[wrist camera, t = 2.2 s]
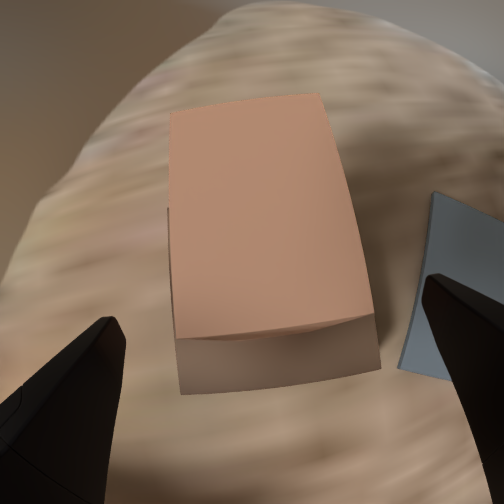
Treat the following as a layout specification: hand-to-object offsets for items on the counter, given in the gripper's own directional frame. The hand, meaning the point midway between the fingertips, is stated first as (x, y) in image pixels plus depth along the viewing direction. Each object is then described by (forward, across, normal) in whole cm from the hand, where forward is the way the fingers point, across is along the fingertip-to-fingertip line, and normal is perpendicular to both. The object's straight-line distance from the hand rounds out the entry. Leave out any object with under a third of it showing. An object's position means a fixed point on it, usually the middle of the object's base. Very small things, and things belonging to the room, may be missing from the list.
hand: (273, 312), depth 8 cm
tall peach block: (+6, 0, +4) cm, 7 cm away
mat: (+7, -14, +7) cm, 17 cm away
